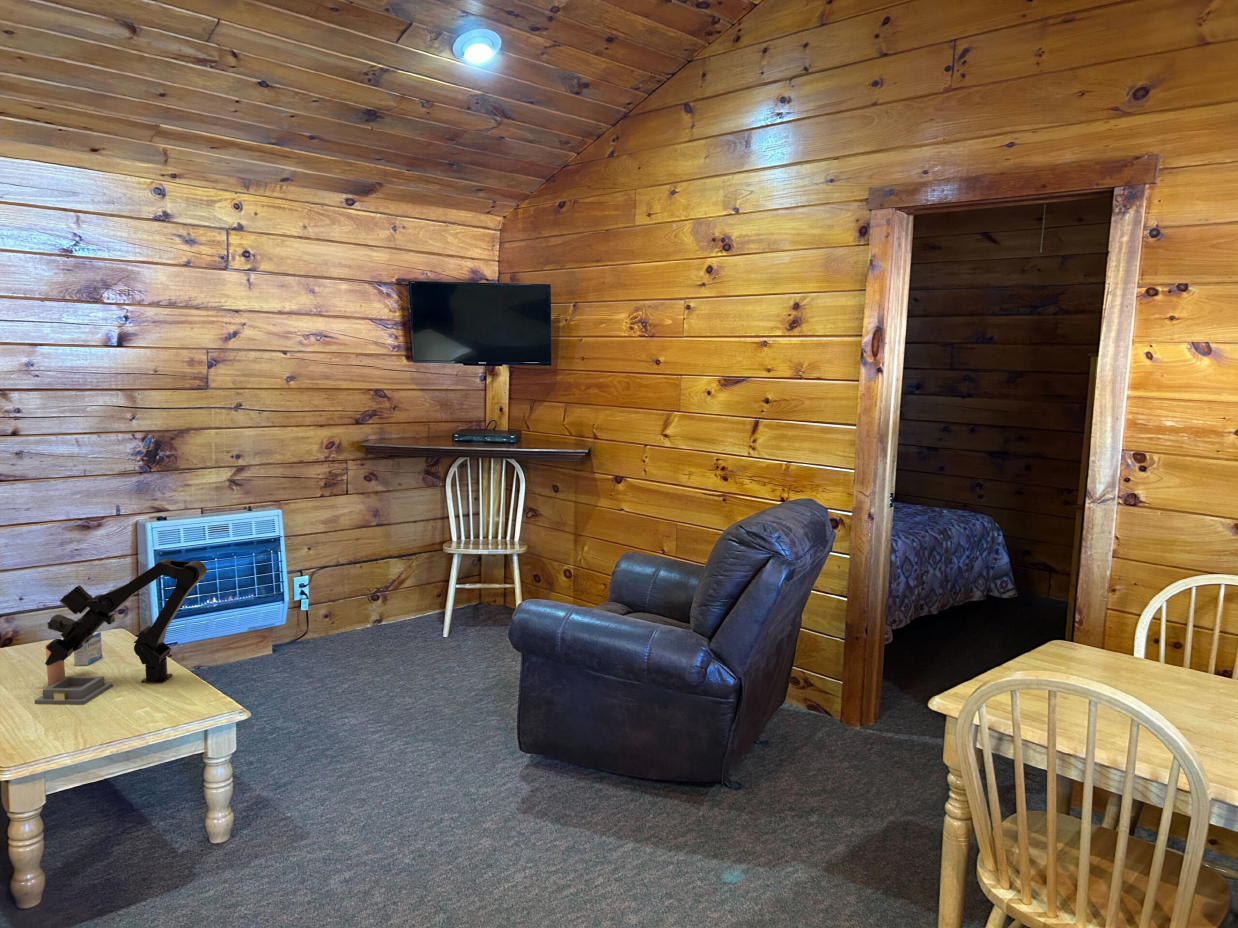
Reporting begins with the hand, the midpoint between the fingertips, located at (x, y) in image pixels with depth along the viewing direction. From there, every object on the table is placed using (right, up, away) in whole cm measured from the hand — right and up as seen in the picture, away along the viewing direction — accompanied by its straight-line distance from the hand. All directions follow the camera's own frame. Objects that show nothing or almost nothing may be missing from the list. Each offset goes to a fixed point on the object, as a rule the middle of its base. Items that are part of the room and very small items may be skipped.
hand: (50, 661), depth 264 cm
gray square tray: (+12, -8, -8) cm, 17 cm away
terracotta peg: (+1, -7, +1) cm, 7 cm away
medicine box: (0, -4, +20) cm, 20 cm away
